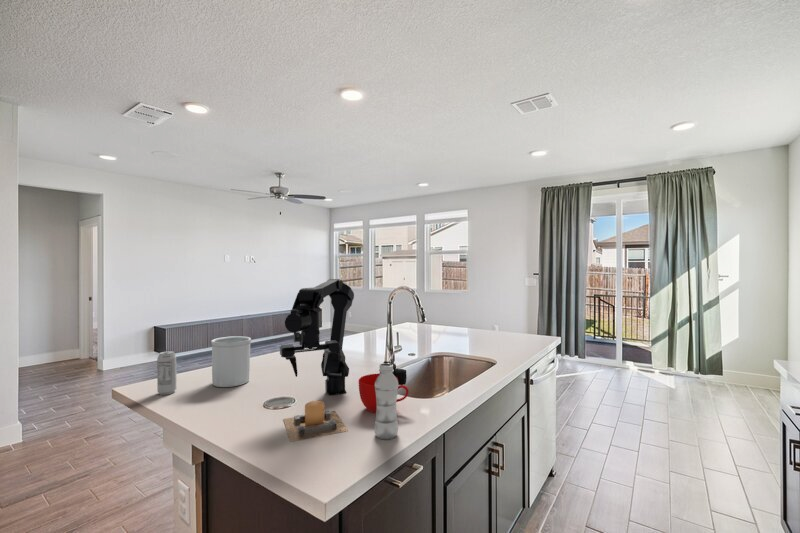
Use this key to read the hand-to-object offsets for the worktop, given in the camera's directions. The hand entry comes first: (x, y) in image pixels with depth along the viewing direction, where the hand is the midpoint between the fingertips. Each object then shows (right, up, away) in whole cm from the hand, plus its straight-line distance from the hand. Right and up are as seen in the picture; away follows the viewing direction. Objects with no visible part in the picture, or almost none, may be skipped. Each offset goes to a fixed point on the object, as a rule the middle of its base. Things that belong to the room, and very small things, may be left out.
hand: (310, 374), depth 122 cm
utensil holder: (-40, -12, +30) cm, 51 cm away
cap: (+4, -11, -12) cm, 17 cm away
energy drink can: (-58, -12, +18) cm, 62 cm away
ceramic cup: (+24, -12, 0) cm, 27 cm away
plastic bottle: (+25, -12, -19) cm, 34 cm away
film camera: (+26, -12, +26) cm, 39 cm away
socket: (+4, -12, -12) cm, 17 cm away
